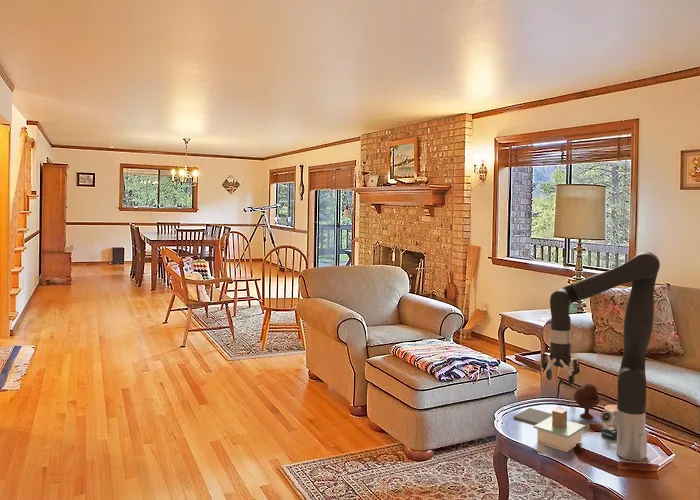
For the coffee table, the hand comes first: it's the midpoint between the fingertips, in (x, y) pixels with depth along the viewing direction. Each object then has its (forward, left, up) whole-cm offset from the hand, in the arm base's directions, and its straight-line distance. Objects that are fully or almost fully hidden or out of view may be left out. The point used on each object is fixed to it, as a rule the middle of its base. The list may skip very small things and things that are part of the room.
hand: (560, 382), depth 222 cm
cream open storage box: (0, 0, -24) cm, 24 cm away
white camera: (-10, -31, -25) cm, 41 cm away
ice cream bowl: (+4, -33, -24) cm, 41 cm away
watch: (-12, -19, -24) cm, 33 cm away
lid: (0, 0, -18) cm, 18 cm away
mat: (+18, -17, -24) cm, 35 cm away
